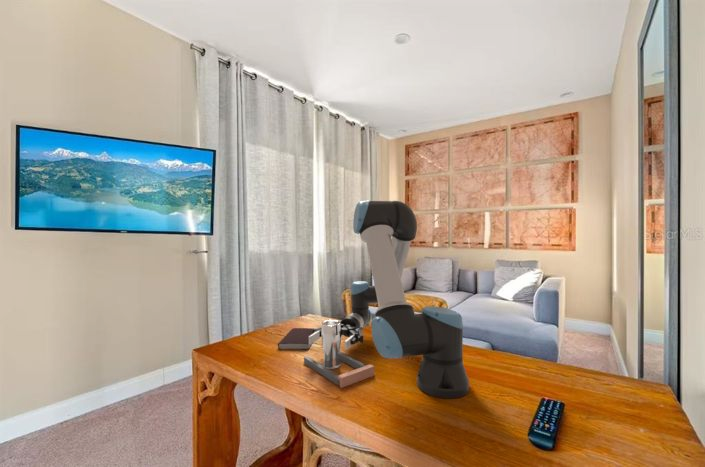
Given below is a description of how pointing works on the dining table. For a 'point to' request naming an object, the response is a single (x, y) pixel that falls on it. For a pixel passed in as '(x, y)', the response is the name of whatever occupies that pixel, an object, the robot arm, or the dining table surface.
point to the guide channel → (346, 378)
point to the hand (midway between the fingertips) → (327, 343)
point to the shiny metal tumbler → (331, 343)
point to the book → (296, 339)
